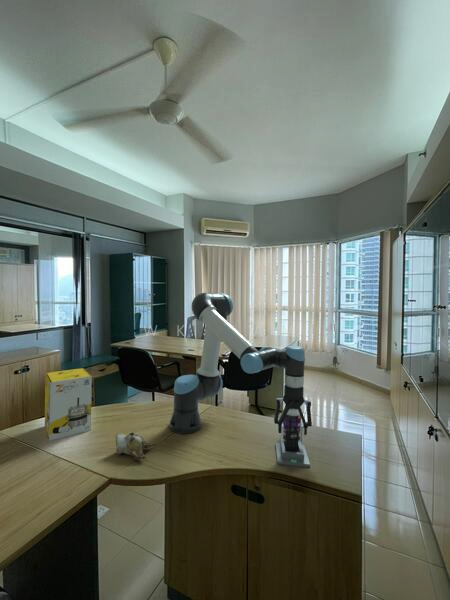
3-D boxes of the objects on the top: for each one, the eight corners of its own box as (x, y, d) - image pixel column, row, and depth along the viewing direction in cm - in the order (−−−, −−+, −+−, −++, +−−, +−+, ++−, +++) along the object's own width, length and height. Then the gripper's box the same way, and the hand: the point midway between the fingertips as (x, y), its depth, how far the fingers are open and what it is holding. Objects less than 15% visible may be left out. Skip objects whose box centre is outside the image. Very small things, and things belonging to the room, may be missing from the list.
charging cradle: (277, 464, 109) (278, 455, 108) (275, 444, 122) (275, 436, 122) (310, 467, 107) (310, 457, 107) (303, 447, 121) (304, 439, 121)
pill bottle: (300, 440, 127) (302, 408, 126) (282, 438, 128) (283, 406, 128) (299, 431, 135) (300, 401, 134) (282, 429, 136) (283, 399, 136)
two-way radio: (286, 456, 112) (288, 418, 112) (281, 449, 116) (283, 413, 116) (299, 455, 113) (301, 418, 113) (294, 448, 118) (296, 413, 117)
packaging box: (49, 440, 120) (50, 382, 120) (44, 426, 133) (45, 373, 132) (91, 430, 131) (91, 376, 130) (82, 417, 143) (83, 368, 143)
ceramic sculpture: (123, 423, 119) (157, 429, 116) (121, 444, 119) (155, 450, 117) (108, 436, 108) (145, 443, 106) (107, 458, 109) (144, 466, 106)
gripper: (268, 386, 111) (266, 444, 112) (322, 390, 109) (319, 448, 110) (268, 380, 119) (266, 434, 120) (317, 383, 117) (315, 438, 117)
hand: (291, 441), depth 115 cm, fingers open, 7 cm apart
